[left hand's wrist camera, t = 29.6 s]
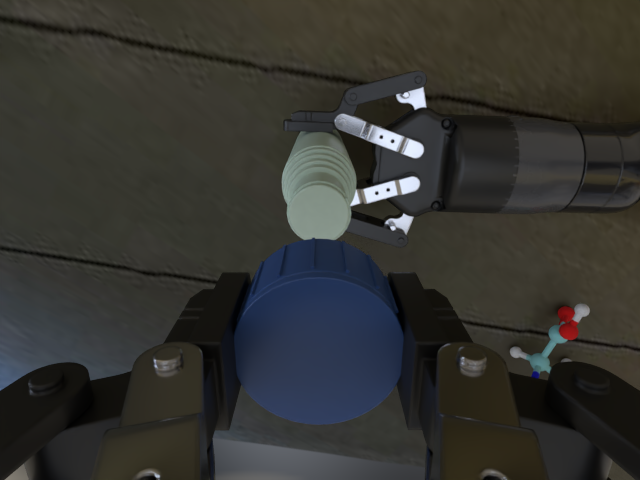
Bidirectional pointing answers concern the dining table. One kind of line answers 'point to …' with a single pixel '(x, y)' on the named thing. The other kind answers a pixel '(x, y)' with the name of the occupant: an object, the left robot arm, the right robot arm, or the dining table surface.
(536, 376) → the molecular model
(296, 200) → the bottle
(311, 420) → the cap
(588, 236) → the dining table surface
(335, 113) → the right robot arm
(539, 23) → the dining table surface
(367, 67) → the dining table surface
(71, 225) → the dining table surface
